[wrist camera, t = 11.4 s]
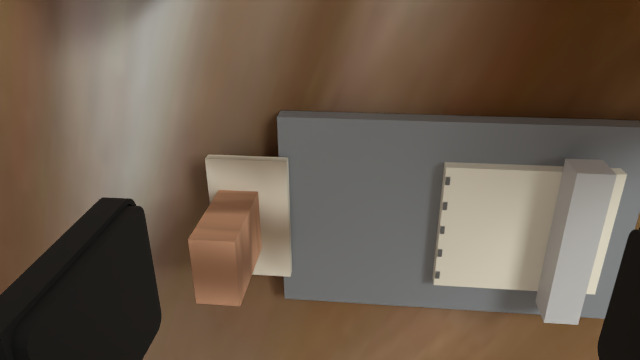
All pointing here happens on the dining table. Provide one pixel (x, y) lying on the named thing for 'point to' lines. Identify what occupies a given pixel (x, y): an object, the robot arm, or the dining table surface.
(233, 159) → the stub
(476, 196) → the holder
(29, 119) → the dining table surface
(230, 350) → the dining table surface
